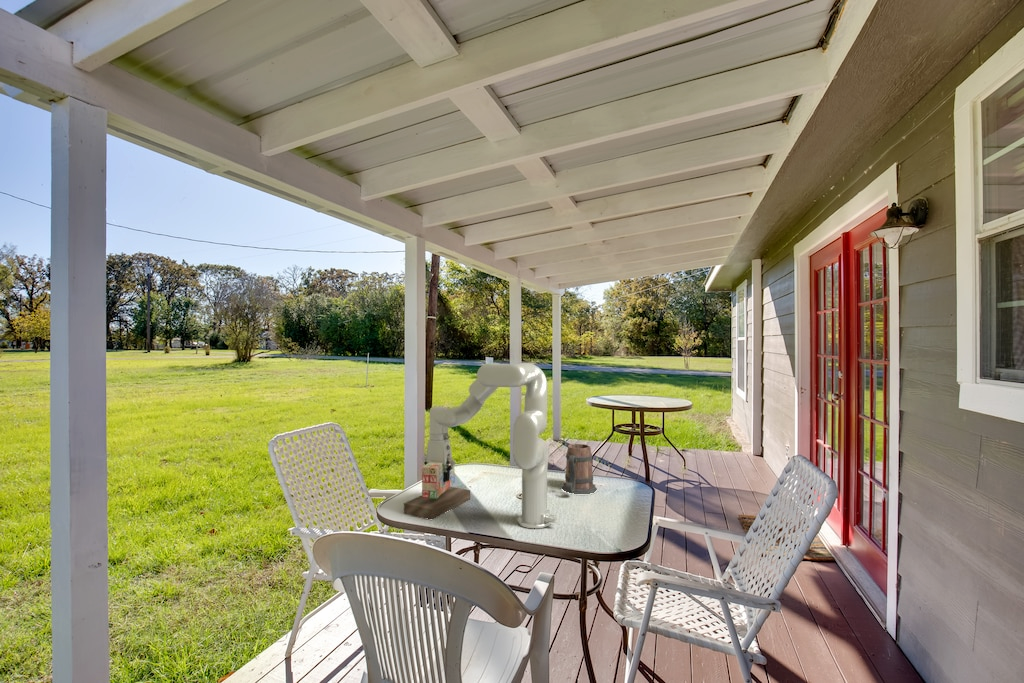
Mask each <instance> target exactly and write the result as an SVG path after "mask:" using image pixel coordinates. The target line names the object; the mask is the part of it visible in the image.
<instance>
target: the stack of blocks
mask: <svg viewBox="0 0 1024 683" xmlns="http://www.w3.org/2000/svg"><path fill="white" fill-rule="evenodd" d="M449 466H450V464H449ZM446 468H447V467H446ZM455 470H456V469H455V465H454V466H453V468H452V469H451V471H450V478H449V481H447V482H444V481H443V475H444V472H445V471H444V469H443V463H438V462H432V461H430V462H429V463H427V464H426V465H425V464H424V465H423V466H421V472H422V474H421V495H422V498H434V499H437V498H438V497H439V496H440V495H441V494H442V493H444V492H445V490H447V489H448V488H449V487H452V486H453V485H454V483H455V481H456V480H455V474H456V471H455Z"/></svg>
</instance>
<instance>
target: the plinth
mask: <svg viewBox="0 0 1024 683" xmlns="http://www.w3.org/2000/svg"><path fill="white" fill-rule="evenodd" d="M468 500H469V501H470V500H471V490H470V489H464V488H459V487H455V486H450V487H449V488H448V489H447V490H445V492H444V493H442V494H441V495H440V496H439V497H438V498H437V499H434V498H422V494H421V495H419V496H417V497H415V498H413V499H411V500H408V501H406V502H404V503H403V514H405V515H408V516H409V515H410V516H413V517H417V516H418V518H421V517H423V518H422V519H425V518H428V519H427V520H429V519H433V520H435V519H437V518H438V516H439V517H440V516H442V515H444V514H446V513H448V512H450V511H452V510H453V508H454V509H455V508H457V507H459V506H461V505H463V504H465V503H467V502H468ZM466 501H467V502H466ZM451 509H452V510H451ZM449 510H450V511H449ZM447 511H448V512H447ZM445 512H446V513H445ZM436 517H437V518H436ZM434 518H435V519H434Z"/></svg>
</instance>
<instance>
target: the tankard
mask: <svg viewBox="0 0 1024 683" xmlns="http://www.w3.org/2000/svg"><path fill="white" fill-rule="evenodd" d="M567 446H568V447H567V451H566V454H565V458H566V466H565V467H566V468H565V476H564V479H565V482H564V483H563V485H562V486H561V487H562V489H563V490H564V491H566V492H569V493H574V494H590V493H594V492H595V491H596V490H597V489H598V488H597V487H596V485H595V484H594V474H593V454H592V449H591V446H590V445H588V444H584V443H575V444H574V443H573V444H571V443H570V444H568V445H567ZM594 494H595V493H594Z"/></svg>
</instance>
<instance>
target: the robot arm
mask: <svg viewBox="0 0 1024 683" xmlns="http://www.w3.org/2000/svg"><path fill="white" fill-rule="evenodd" d="M519 387H526V389H525V395H524V408H523V409H524V410H523V412H522V413H520V414H518V415H517V417H516V419H515V420H514V422H513V429H512V458H513V462H514V463H515V465H516V466H517V467H518V468H520V469H521V515H519V516H518V517H517V523H518V524H519V526H521V527H524V528H527V529H534V528H535V529H543V528H547V527H548V526H550V525H551V524H552V523H553V524H557V520H558V519H557V515H554V514H551V512H550V509H548V467H549V465H548V464H549V459H550V458H549V456H550V448H549V446H548V443H547V441H546V440H544V439H543V438H541V437H539V435H541V434H543V432H545V430H546V429H547V425H548V379H547V377H546V375H545V373H544V371H543V370H542V369H541V368H540V367H539V366H537V365H535V364H533V363H530V362H520V363H507V364H506V363H504V364H503V363H502V364H501V363H498V362H491V363H484V364H482V365H481V366H480V367H479V368H478V370H477V373H476V379H475V380H474V381H473V382H472V383H471V384H470V385H469V387H468V392H469V395H468V396H467V398H466V399H465V400H464V401H462V403H461V404H460V405H459V406H454V407H450V408H447V407H446V406H441V405H439V406H438V405H437V406H432V407H431V408H430V409H429V438H428V442H427V447H426V453H425V455H424V456H423V457H422V461H423V463H424V465H426V464H427V463H429V462H430V461H432V462H438V463H443V469H444V471H445V472H444V475H443V481H444V482H447V481H449V478H450V471H451V469H452V468H453V466H454V467H455V466H456V461H455V460H454V459H453V456H452V446H451V441H450V437H451V436H450V435H449V428H455V427H457V426H460V425H464V424H466V423H468V422H470V420H472V419H473V418H474V416H476V414H478V412H479V411H480V410H481V409H482V407H483V406H484V404H485V402H486V401H487V399H489V397H491V396H492V394H494V393H495V391H496V390H498V389H499V388H519ZM449 464H450V466H449ZM446 467H447V468H446Z"/></svg>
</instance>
